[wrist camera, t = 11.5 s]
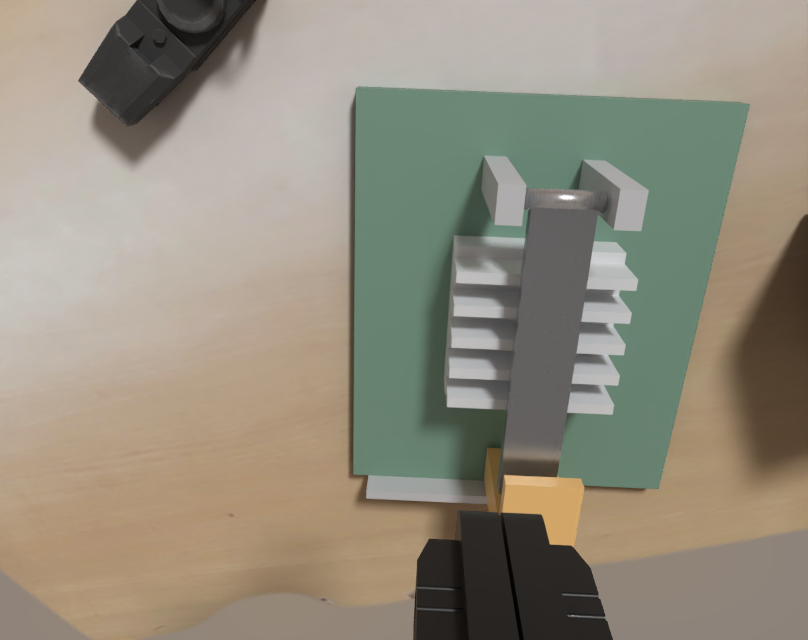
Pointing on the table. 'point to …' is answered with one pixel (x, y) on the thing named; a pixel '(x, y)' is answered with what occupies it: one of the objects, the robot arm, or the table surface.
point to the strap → (547, 327)
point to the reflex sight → (156, 51)
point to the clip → (536, 499)
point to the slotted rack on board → (501, 270)
